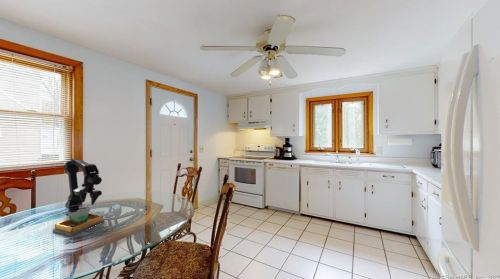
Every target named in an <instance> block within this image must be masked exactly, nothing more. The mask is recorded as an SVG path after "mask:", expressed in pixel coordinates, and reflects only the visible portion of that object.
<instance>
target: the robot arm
mask: <svg viewBox="0 0 500 279" xmlns="http://www.w3.org/2000/svg"><path fill="white" fill-rule="evenodd" d="M80 169H81V172H82V173H83V174H82V176H83V183H81V186H79V185H78V184H79V183H78V175H77V174H78V172H79V170H80ZM63 170H64V173H66V175H68V177H67V178H68V185H69V196H67V201H66V202H65V203H64V205H65V206H64V207H65V208H67V209H68V210H67V213H65V215H66V216H68V213H69V212H75V211H77V210H80V206H82V205H83V203H85V201H86V198H87V196H88V194H89V198H90V200H91V201H90V202H91V203H90V204H91V205H93V206H94V204H95V203H96V201H97V200H98V199H99V197H101V196H102V194H103V191H101V190H98V189H97V190H96V188H95V187H94V186H98V185H100V184H101V183H102V181H103V180H102V177H101V176H99V174H100V171H99V169H98V166H97V165H96V164H94V163H89V162H86V161H84V160H82V159H81V158H72V159H71V160H70V161H67V162H65V164H63Z"/></svg>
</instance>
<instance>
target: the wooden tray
mask: <svg viewBox="0 0 500 279" xmlns="http://www.w3.org/2000/svg"><path fill="white" fill-rule="evenodd" d="M103 217H104V216H103V215H100V214H96V213H91V212H89V213H88V220H87V222H85V223H82V224H80V225H77V226H75V227H70V219H69V218H68V219H65V220H63V221H60V222H57V223H55V224H54V228H52V233H55V234H59V235H62V236H66V237H69V238H72V237H75V236H77V235H79V234H81V233H84V232H86V231H88V230H90V229H89V228H91V227H93V226H95V225H97V226H99V225H98V224H100V223H102V222H104V223H105V219H104V218H103ZM102 224H103V223H102ZM100 225H101V224H100ZM95 227H96V226H95ZM93 228H94V227H93ZM87 229H88V230H87ZM91 229H92V228H91ZM85 230H86V231H85ZM83 231H84V232H83ZM78 233H79V234H78ZM76 234H77V235H76ZM74 235H75V236H74Z"/></svg>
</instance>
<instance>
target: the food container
mask: <svg viewBox="0 0 500 279" xmlns="http://www.w3.org/2000/svg"><path fill="white" fill-rule="evenodd" d="M90 212H91V208H90V206H88V205H87V206H86V207H85V208H79V210H77V211H75V212H69V213H68V212H67V214H68V215H67V216H68V219H70V227H75V226H77V225H80V224H82V223H85V222H87V220H88V213H90Z"/></svg>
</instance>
